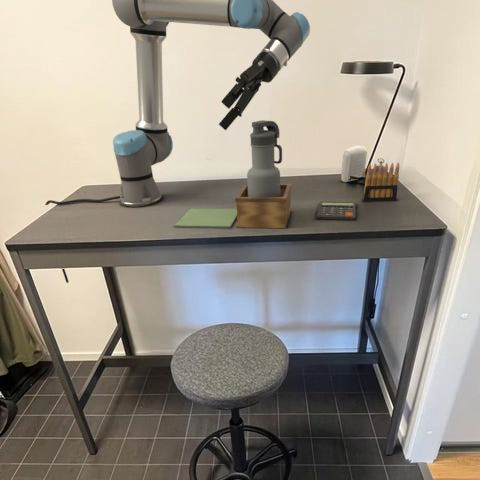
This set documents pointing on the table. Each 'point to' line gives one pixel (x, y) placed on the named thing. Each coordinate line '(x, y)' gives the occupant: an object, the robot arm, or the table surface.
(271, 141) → the water bottle
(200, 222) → the desk mat
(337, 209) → the calculator
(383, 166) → the pocket watch
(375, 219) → the table surface
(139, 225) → the table surface
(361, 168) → the photo printer
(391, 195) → the ammunition clip
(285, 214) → the wooden box
